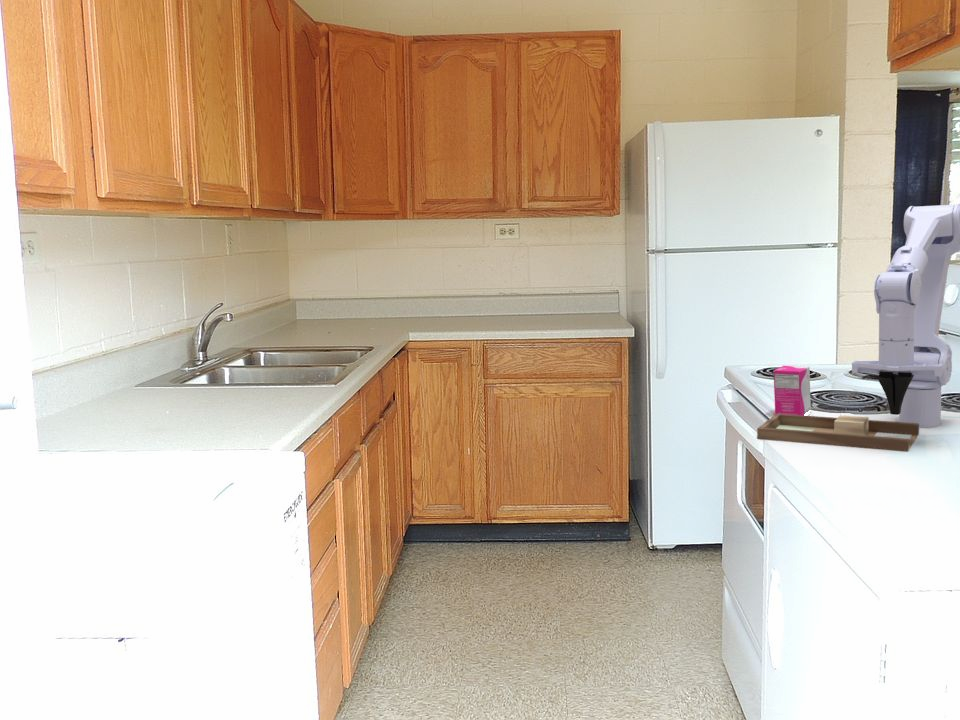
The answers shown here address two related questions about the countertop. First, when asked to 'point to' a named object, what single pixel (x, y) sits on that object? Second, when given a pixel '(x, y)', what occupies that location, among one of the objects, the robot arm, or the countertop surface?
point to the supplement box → (792, 390)
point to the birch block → (851, 425)
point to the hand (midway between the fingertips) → (895, 413)
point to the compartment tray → (823, 433)
